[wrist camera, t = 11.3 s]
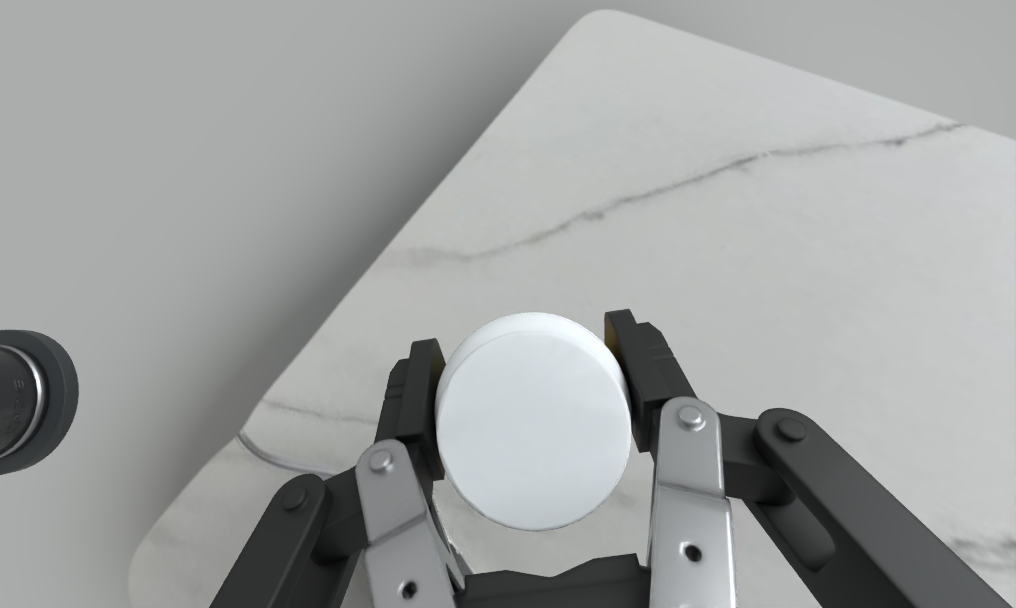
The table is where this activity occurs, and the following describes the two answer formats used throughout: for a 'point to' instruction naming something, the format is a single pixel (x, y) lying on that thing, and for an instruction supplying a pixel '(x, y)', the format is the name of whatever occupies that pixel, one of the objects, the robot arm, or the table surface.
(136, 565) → the table surface
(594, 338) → the supplement bottle
